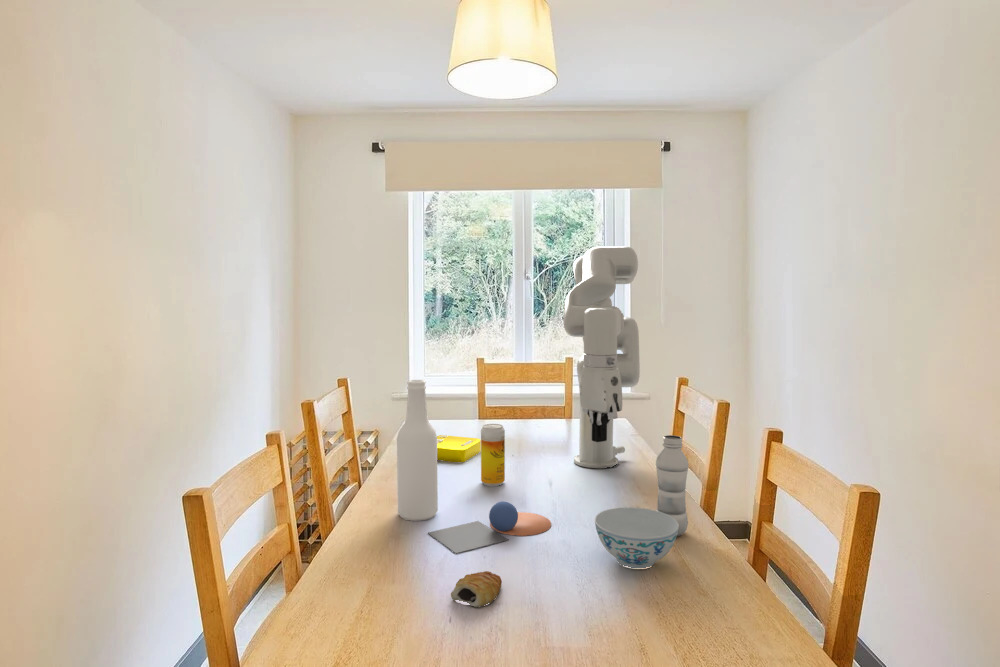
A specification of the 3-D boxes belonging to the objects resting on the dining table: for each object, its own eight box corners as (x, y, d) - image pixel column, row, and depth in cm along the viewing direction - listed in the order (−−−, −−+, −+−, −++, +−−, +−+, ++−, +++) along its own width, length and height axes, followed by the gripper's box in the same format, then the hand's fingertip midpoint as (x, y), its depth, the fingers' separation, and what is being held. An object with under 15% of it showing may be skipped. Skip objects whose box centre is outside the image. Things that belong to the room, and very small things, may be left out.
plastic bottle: (670, 542, 126) (672, 442, 124) (647, 530, 132) (649, 435, 130) (694, 536, 129) (696, 439, 127) (671, 525, 135) (673, 432, 133)
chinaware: (619, 539, 127) (619, 501, 126) (691, 559, 117) (692, 519, 117) (578, 564, 115) (579, 523, 115) (655, 589, 106) (656, 544, 105)
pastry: (477, 579, 110) (477, 558, 110) (511, 588, 107) (512, 566, 107) (448, 603, 102) (448, 580, 102) (484, 613, 99) (484, 590, 98)
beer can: (502, 487, 160) (502, 429, 159) (478, 486, 161) (478, 428, 160) (506, 480, 166) (506, 423, 165) (484, 479, 167) (483, 423, 166)
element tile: (463, 464, 182) (462, 448, 182) (416, 459, 187) (416, 443, 187) (483, 452, 196) (482, 437, 196) (439, 447, 201) (439, 433, 201)
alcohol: (428, 523, 135) (426, 384, 133) (390, 519, 138) (389, 382, 136) (443, 510, 144) (442, 378, 142) (408, 506, 146) (406, 377, 144)
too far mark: (478, 521, 137) (478, 520, 136) (508, 540, 126) (508, 539, 126) (427, 533, 130) (427, 532, 130) (456, 554, 120) (456, 553, 120)
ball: (480, 506, 132) (487, 531, 133) (497, 514, 127) (504, 540, 128) (502, 493, 135) (509, 518, 136) (520, 500, 130) (526, 526, 131)
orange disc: (527, 509, 144) (527, 508, 144) (563, 527, 133) (563, 526, 133) (478, 520, 137) (478, 519, 137) (512, 540, 126) (512, 539, 126)
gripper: (635, 364, 140) (634, 445, 142) (590, 357, 153) (590, 432, 154) (610, 366, 136) (609, 450, 138) (566, 359, 149) (566, 436, 150)
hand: (599, 440), depth 146 cm, fingers closed
